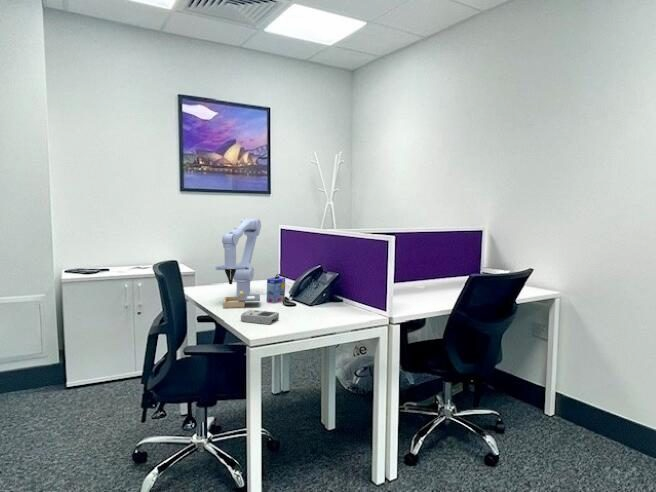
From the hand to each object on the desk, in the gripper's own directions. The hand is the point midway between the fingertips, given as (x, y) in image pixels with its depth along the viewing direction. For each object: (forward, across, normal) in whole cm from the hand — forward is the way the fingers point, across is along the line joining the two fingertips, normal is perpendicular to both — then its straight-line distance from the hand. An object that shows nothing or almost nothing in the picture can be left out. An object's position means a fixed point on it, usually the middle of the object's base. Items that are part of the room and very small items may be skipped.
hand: (230, 284), depth 225 cm
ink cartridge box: (+10, +23, +2) cm, 25 cm away
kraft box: (+10, +2, -5) cm, 11 cm away
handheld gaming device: (+10, +14, -36) cm, 40 cm away
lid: (+7, +9, -5) cm, 12 cm away
